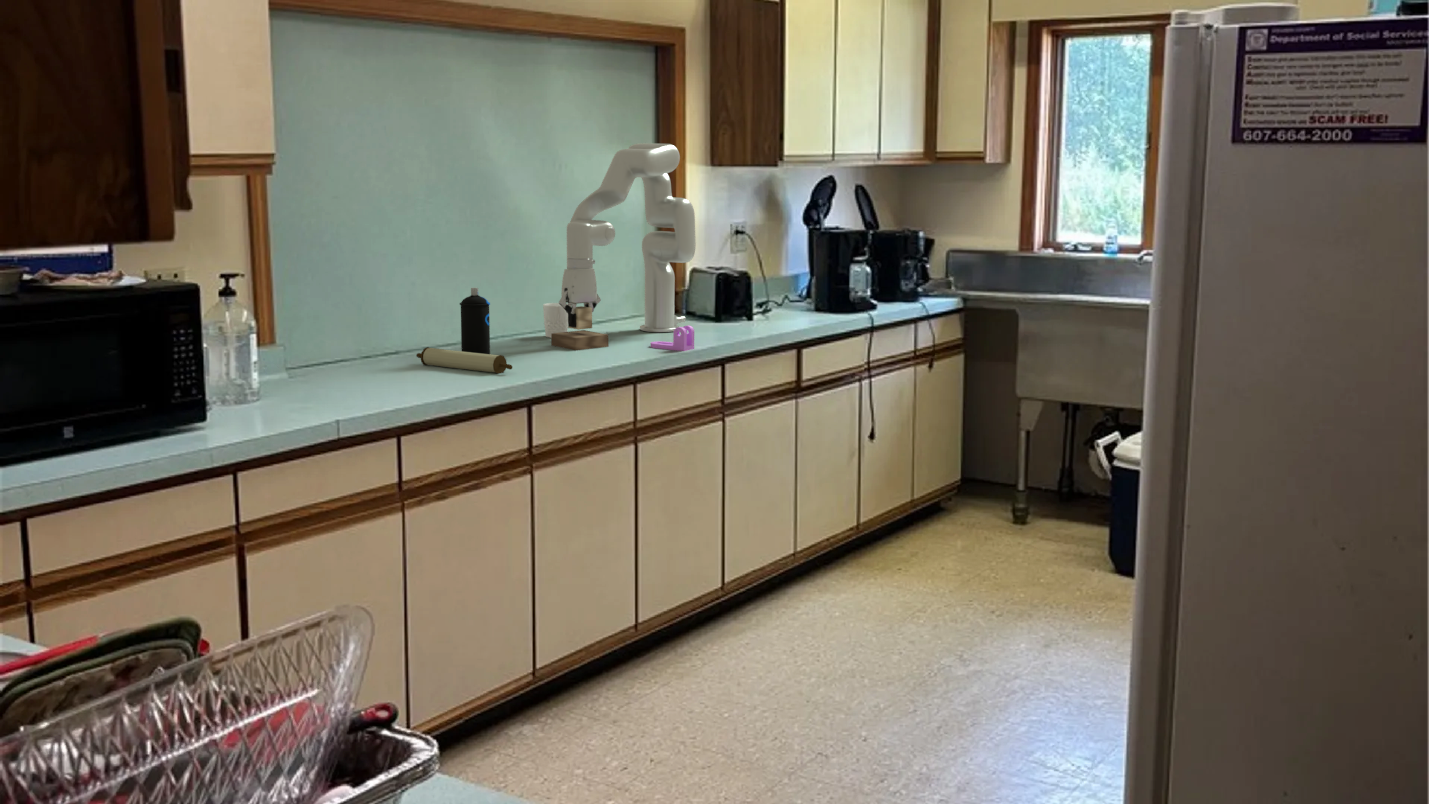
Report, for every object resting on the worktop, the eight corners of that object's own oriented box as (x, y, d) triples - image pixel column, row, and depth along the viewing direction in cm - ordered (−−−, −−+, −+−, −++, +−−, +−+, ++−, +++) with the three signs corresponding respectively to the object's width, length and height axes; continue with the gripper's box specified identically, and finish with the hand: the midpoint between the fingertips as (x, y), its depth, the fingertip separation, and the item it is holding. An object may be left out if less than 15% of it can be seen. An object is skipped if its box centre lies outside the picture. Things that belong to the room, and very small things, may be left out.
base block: (583, 343, 414) (583, 330, 413) (608, 348, 406) (608, 334, 405) (551, 346, 406) (551, 333, 405) (575, 351, 398) (575, 338, 397)
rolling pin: (410, 365, 368) (409, 347, 367) (424, 362, 373) (423, 344, 372) (505, 377, 353) (505, 357, 352) (518, 374, 358) (518, 355, 357)
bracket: (694, 349, 404) (694, 325, 402) (684, 351, 399) (684, 327, 398) (657, 345, 410) (657, 322, 409) (646, 347, 406) (647, 324, 404)
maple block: (581, 326, 408) (581, 306, 407) (592, 328, 405) (592, 307, 404) (568, 327, 405) (568, 307, 404) (578, 329, 401) (578, 309, 400)
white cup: (571, 335, 428) (571, 303, 426) (566, 338, 420) (566, 306, 418) (546, 334, 428) (546, 302, 427) (540, 338, 421) (540, 305, 419)
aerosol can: (465, 363, 371) (464, 290, 367) (456, 359, 378) (455, 286, 374) (495, 361, 375) (494, 288, 371) (485, 357, 382) (484, 285, 378)
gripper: (594, 262, 410) (595, 322, 413) (548, 264, 398) (549, 327, 402) (610, 263, 404) (610, 325, 408) (563, 266, 393) (564, 330, 396)
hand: (580, 325), depth 405 cm, fingers closed on maple block, 4 cm apart
